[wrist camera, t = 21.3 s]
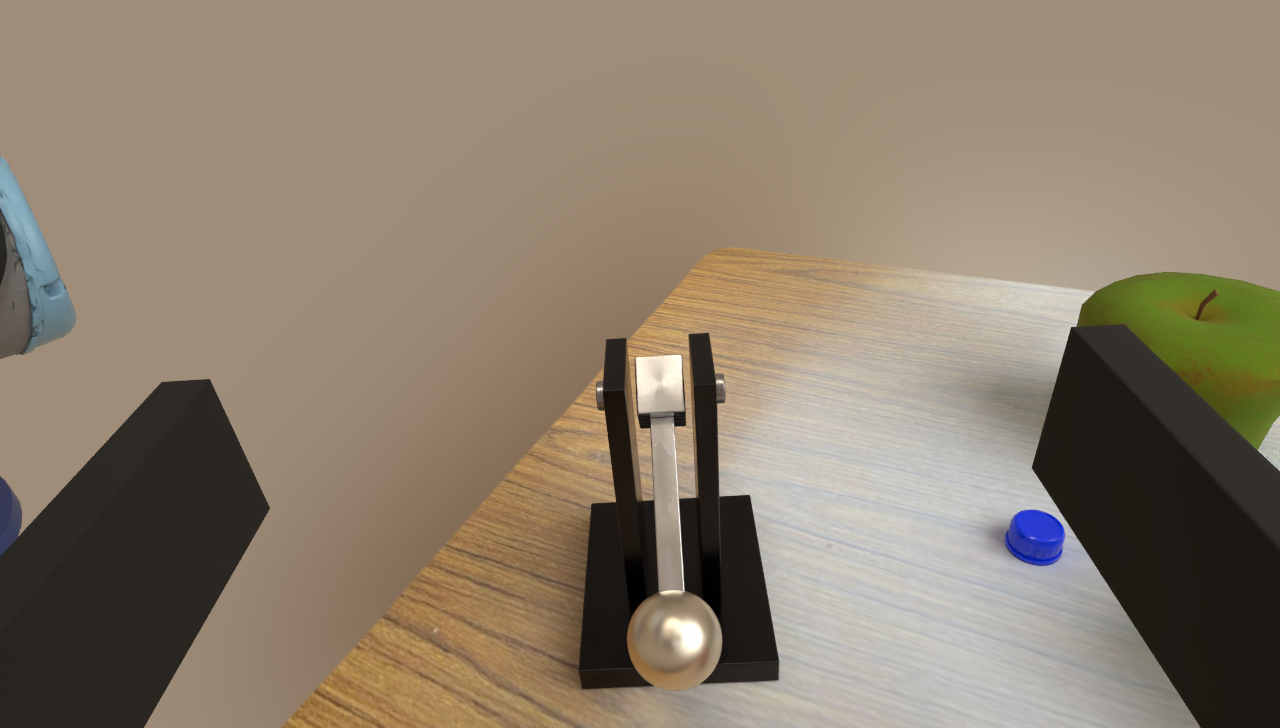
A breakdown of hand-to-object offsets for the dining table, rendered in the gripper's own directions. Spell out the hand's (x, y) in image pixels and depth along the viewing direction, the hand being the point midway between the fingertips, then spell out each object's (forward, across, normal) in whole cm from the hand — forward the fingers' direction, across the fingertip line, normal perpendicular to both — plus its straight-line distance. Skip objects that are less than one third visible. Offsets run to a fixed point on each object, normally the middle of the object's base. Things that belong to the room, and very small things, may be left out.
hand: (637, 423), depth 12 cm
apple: (+31, +33, -28) cm, 53 cm away
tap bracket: (+20, 0, -27) cm, 34 cm away
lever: (+16, 0, -18) cm, 24 cm away
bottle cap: (+22, +21, -28) cm, 41 cm away
